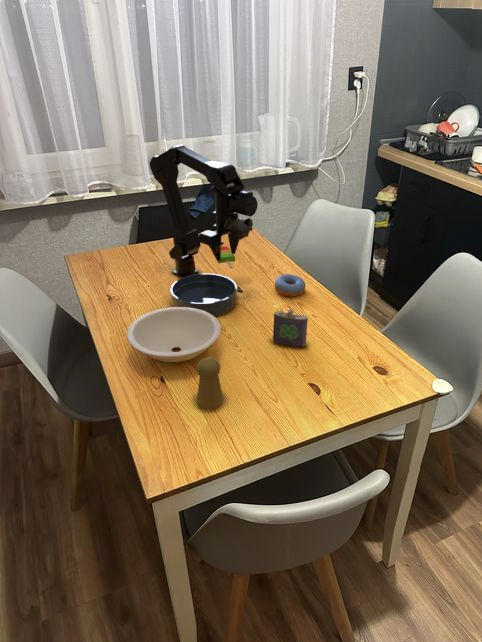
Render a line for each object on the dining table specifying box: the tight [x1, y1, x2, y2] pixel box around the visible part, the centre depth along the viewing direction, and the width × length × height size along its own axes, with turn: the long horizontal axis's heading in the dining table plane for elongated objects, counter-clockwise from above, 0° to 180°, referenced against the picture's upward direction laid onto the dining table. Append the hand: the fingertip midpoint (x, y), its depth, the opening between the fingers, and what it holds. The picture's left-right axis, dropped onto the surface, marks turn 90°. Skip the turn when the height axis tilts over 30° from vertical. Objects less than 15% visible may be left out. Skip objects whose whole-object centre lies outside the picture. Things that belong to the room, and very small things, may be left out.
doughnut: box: [274, 273, 306, 297], centre depth 160 cm, size 10×10×5 cm
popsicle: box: [211, 245, 236, 269], centre depth 157 cm, size 6×15×2 cm, turn 18°
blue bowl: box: [169, 273, 238, 318], centre depth 153 cm, size 20×20×5 cm
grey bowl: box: [126, 306, 222, 363], centre depth 130 cm, size 24×24×7 cm
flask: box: [272, 308, 309, 349], centre depth 132 cm, size 9×3×11 cm, turn 74°
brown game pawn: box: [196, 357, 224, 410], centre depth 112 cm, size 6×6×11 cm
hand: (226, 257), depth 157 cm, fingers closed on popsicle, 7 cm apart
